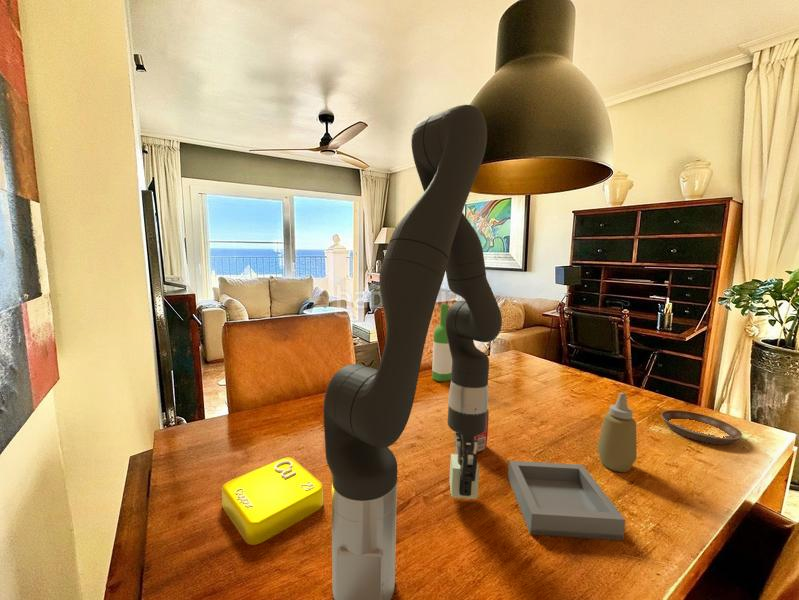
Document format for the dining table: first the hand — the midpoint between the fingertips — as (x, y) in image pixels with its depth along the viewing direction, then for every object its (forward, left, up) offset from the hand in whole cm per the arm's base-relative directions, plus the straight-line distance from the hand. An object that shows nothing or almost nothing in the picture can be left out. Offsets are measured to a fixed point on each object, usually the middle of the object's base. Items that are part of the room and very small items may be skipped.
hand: (463, 484), depth 69 cm
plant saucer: (+35, -72, -4) cm, 80 cm away
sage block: (0, 0, -1) cm, 1 cm away
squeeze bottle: (+15, -38, -4) cm, 41 cm away
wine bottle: (+69, 0, -4) cm, 70 cm away
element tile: (-4, +37, -4) cm, 38 cm away
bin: (0, -19, -3) cm, 19 cm away
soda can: (+20, -5, -4) cm, 21 cm away
